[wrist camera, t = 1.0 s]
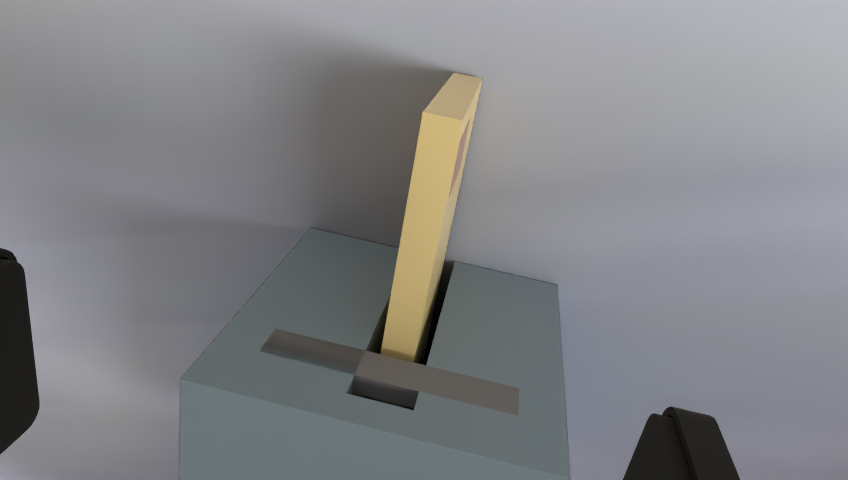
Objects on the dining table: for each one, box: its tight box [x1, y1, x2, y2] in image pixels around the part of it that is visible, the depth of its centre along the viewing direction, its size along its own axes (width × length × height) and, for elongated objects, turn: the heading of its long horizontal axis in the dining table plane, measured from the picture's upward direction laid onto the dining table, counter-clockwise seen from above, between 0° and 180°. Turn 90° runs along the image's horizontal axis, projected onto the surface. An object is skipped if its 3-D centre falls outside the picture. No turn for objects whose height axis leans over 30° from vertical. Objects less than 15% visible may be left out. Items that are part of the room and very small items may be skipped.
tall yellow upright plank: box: [372, 73, 483, 409], centre depth 21 cm, size 1×12×6 cm, turn 170°
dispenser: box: [179, 228, 570, 480], centre depth 22 cm, size 10×10×10 cm
